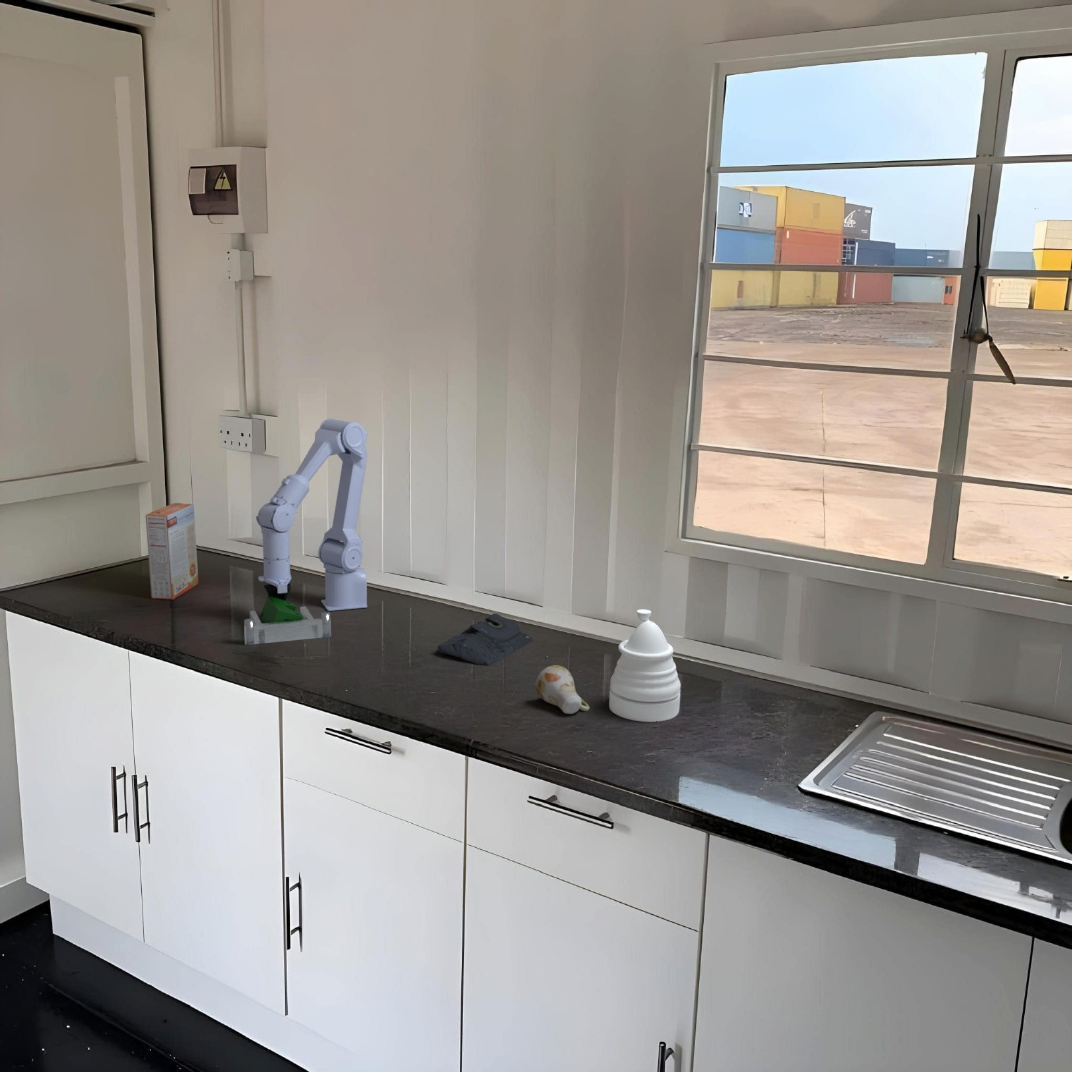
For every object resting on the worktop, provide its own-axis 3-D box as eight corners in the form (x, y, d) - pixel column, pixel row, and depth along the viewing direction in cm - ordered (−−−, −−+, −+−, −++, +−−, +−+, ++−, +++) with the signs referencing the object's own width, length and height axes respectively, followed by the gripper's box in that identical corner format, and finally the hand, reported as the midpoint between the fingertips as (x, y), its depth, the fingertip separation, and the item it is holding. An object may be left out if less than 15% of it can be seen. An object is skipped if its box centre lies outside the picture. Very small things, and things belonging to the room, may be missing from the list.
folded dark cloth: (424, 656, 215) (425, 634, 214) (478, 628, 235) (478, 608, 234) (488, 670, 209) (489, 647, 208) (538, 640, 228) (539, 619, 227)
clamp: (287, 653, 226) (305, 622, 222) (261, 646, 223) (278, 615, 219) (284, 617, 235) (301, 588, 231) (259, 611, 232) (275, 581, 228)
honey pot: (597, 699, 194) (601, 607, 190) (656, 691, 199) (662, 601, 195) (629, 726, 183) (635, 628, 178) (692, 716, 188) (699, 621, 184)
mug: (561, 722, 184) (540, 669, 185) (545, 725, 193) (525, 675, 194) (597, 707, 186) (577, 655, 187) (580, 711, 195) (561, 661, 196)
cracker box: (176, 583, 261) (172, 502, 256) (199, 585, 260) (195, 503, 255) (148, 599, 247) (144, 513, 243) (172, 600, 246) (168, 514, 242)
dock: (318, 617, 237) (317, 596, 236) (331, 637, 224) (331, 614, 223) (237, 625, 230) (236, 602, 229) (245, 645, 217) (244, 621, 216)
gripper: (253, 550, 235) (255, 607, 238) (262, 566, 222) (264, 626, 225) (285, 548, 238) (286, 605, 241) (296, 564, 225) (297, 623, 228)
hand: (278, 615), depth 233 cm, fingers closed
